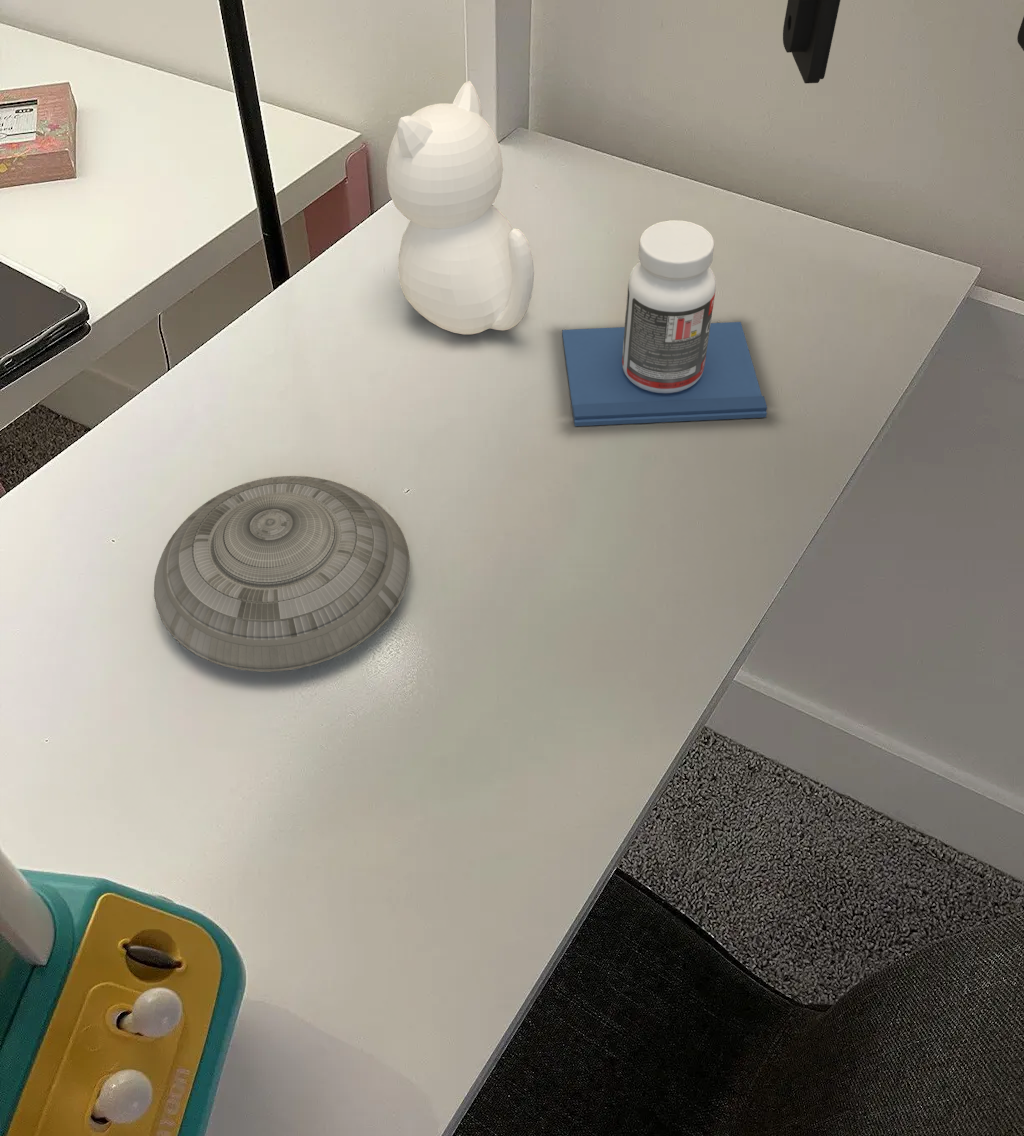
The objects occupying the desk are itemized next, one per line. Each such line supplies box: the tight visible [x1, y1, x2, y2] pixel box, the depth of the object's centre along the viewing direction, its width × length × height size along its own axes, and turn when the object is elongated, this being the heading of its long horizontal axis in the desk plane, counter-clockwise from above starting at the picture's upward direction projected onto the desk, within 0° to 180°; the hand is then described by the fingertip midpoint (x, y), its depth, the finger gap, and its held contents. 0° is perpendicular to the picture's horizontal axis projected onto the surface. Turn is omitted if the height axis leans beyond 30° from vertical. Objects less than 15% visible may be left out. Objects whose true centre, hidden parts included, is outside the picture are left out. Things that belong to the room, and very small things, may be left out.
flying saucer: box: [153, 475, 411, 673], centre depth 66 cm, size 15×15×6 cm
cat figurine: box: [386, 80, 535, 335], centre depth 77 cm, size 9×12×15 cm
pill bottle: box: [622, 219, 717, 393], centre depth 75 cm, size 6×6×10 cm
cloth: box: [561, 321, 768, 427], centre depth 79 cm, size 13×10×1 cm
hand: (920, 63), depth 47 cm, fingers open, 9 cm apart
